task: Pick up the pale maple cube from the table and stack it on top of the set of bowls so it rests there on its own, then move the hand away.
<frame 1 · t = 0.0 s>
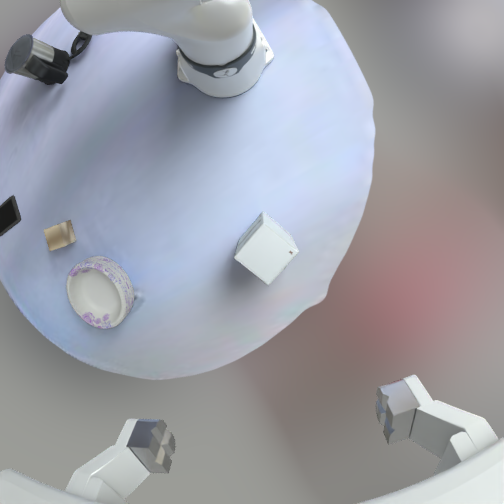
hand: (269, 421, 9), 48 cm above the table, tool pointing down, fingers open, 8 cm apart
paper bowls: (110, 283, 60), on the table
milk frother: (68, 56, 46), on the table
cell phone: (6, 216, 57), on the table
supplement box: (264, 236, 57), on the table
maple block: (66, 232, 57), on the table
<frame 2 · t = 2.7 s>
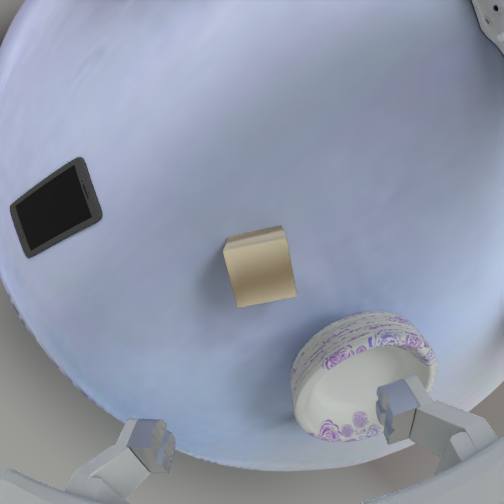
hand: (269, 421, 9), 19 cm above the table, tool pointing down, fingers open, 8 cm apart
paper bowls: (351, 353, 31), on the table
cell phone: (52, 210, 27), on the table
maple block: (260, 255, 28), on the table
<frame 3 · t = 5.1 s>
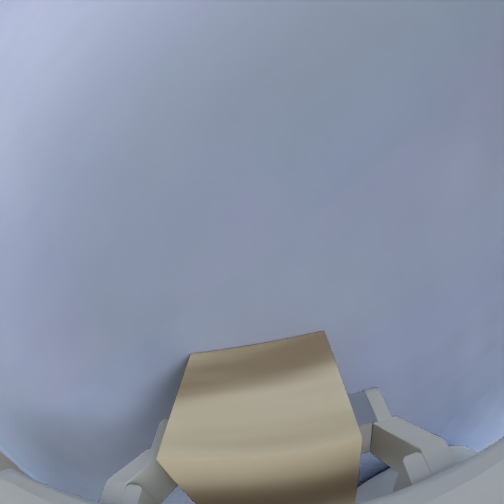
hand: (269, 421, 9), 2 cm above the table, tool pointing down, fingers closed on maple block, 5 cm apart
paper bowls: (404, 480, 14), on the table
maple block: (268, 392, 11), on the table, touching gripper
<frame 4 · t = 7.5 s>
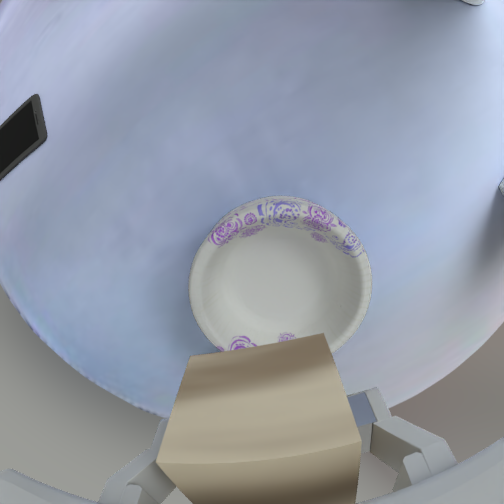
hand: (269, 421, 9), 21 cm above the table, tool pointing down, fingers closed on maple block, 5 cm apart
paper bowls: (277, 265, 30), on the table
cell phone: (13, 142, 27), on the table
maple block: (268, 394, 11), point 20 cm above the table, touching gripper
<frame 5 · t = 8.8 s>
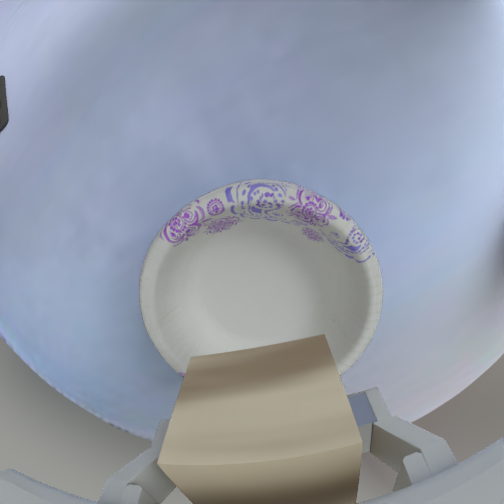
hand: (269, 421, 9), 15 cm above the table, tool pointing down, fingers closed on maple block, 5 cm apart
paper bowls: (260, 270, 24), on the table
maple block: (269, 394, 11), point 14 cm above the table, touching gripper
when the fingers open (11 cm above the table, at t = 10.0 s): maple block drops 2 cm, resting on paper bowls.
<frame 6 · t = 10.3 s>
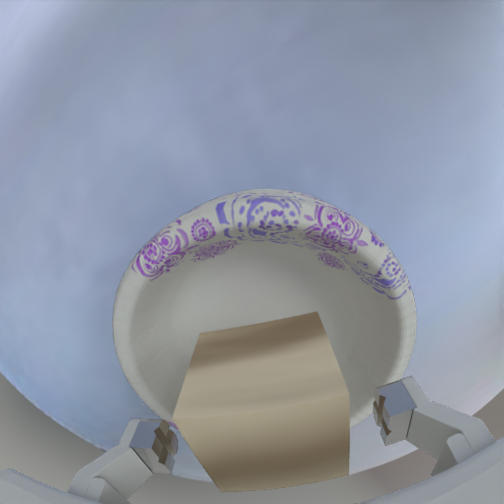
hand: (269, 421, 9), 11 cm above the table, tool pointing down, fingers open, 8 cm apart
paper bowls: (263, 296, 20), on the table, touching maple block
maple block: (269, 369, 12), point 8 cm above the table, touching paper bowls
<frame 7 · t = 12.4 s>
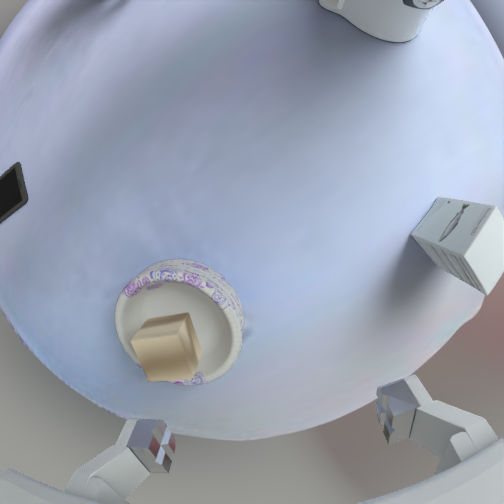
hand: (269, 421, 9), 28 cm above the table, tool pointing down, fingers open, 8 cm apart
paper bowls: (189, 306, 38), on the table, touching maple block
cell phone: (4, 197, 36), on the table
supplement box: (436, 231, 35), on the table
maple block: (174, 335, 31), point 8 cm above the table, touching paper bowls
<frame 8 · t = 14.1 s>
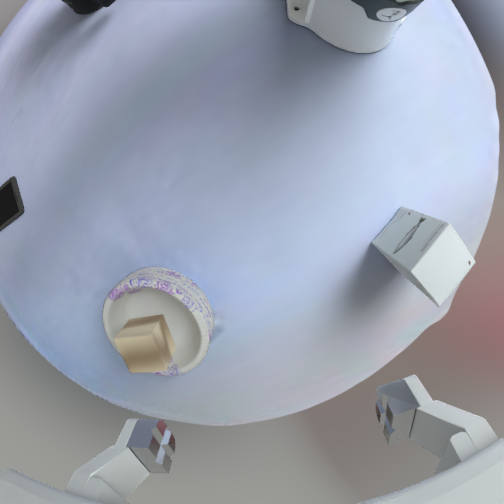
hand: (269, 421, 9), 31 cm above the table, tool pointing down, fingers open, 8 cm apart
paper bowls: (168, 306, 43), on the table, touching maple block
cell phone: (2, 208, 39), on the table
supplement box: (399, 239, 39), on the table
maple block: (152, 333, 35), point 8 cm above the table, touching paper bowls
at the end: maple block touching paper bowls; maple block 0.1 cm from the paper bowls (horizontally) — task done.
